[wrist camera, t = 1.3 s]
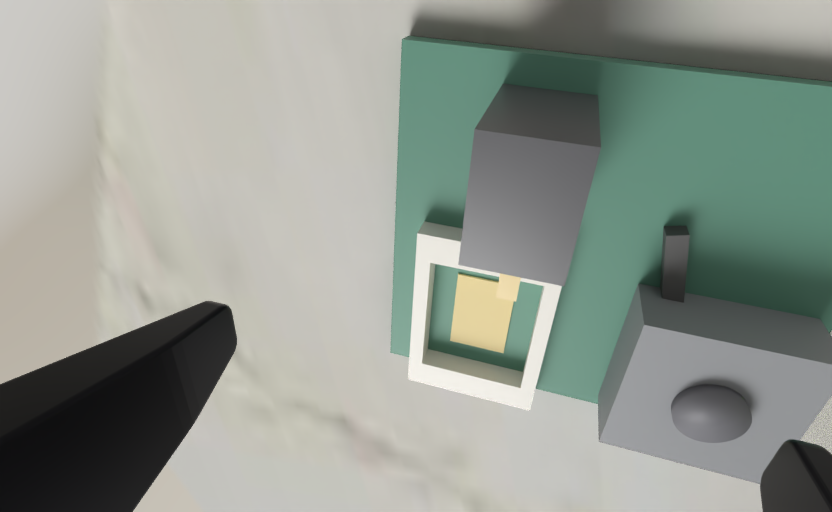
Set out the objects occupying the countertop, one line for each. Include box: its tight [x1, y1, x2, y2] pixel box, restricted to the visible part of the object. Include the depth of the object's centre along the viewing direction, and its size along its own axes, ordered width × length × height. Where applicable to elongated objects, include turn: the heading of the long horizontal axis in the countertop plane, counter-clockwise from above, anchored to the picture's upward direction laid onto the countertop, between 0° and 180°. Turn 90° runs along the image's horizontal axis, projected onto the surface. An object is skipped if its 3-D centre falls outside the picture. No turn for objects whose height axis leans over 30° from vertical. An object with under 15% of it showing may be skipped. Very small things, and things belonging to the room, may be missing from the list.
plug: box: [458, 84, 601, 302], centre depth 15 cm, size 3×5×5 cm, turn 177°
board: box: [390, 36, 832, 484], centre depth 18 cm, size 16×14×4 cm
